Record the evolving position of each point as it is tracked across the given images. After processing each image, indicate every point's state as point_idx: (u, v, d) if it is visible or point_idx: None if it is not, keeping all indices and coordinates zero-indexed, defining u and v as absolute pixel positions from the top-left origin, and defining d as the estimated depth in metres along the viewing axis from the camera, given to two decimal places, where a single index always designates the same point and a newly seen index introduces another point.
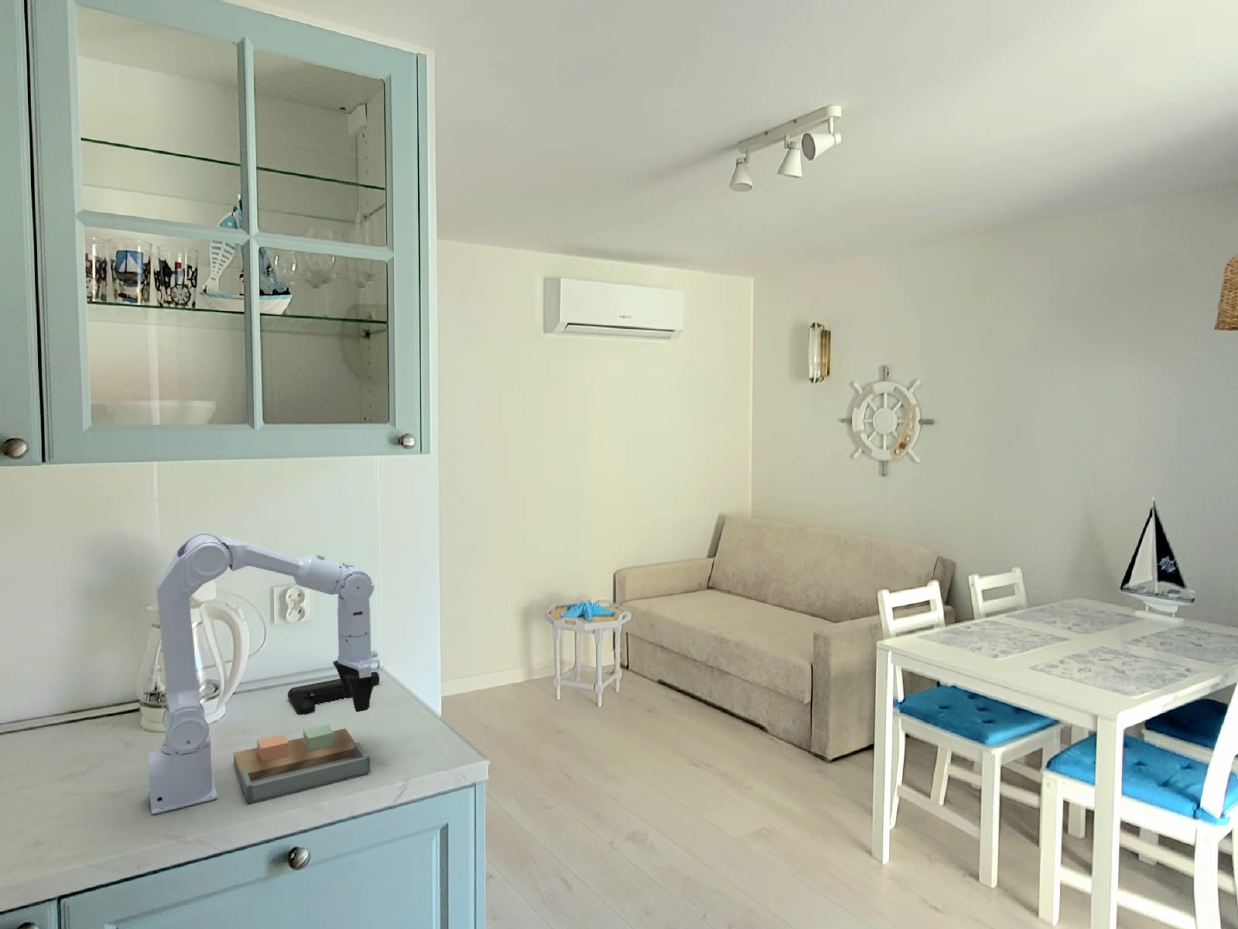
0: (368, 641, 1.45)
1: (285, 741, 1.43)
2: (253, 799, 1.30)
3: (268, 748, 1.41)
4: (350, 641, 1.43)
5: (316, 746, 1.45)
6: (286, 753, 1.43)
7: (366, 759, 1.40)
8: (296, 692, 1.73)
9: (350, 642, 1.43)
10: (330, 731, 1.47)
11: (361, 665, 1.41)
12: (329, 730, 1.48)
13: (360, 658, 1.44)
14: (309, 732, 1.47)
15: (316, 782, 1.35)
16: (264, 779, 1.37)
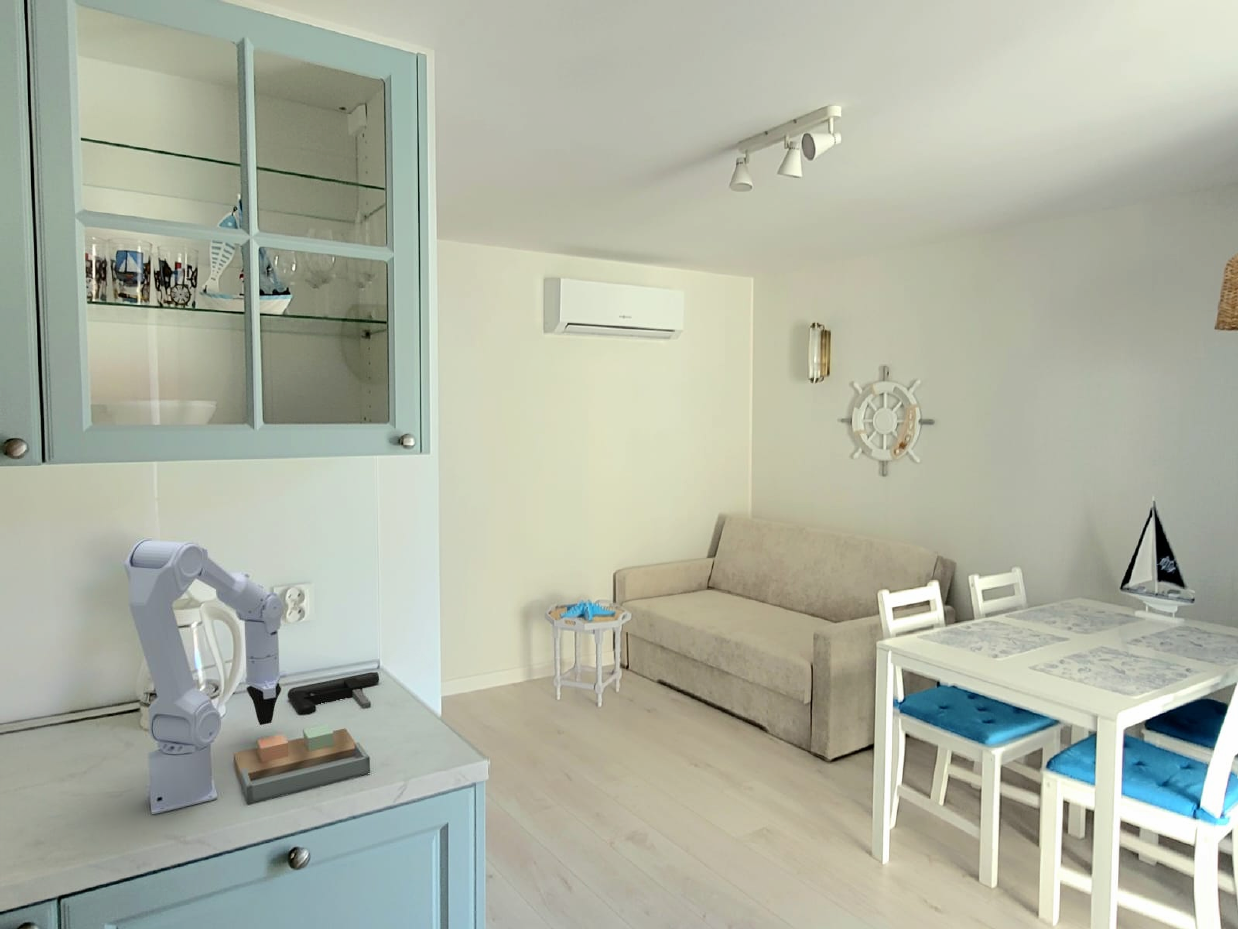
0: (275, 662, 1.49)
1: (285, 741, 1.43)
2: (253, 799, 1.30)
3: (268, 748, 1.41)
4: (256, 663, 1.46)
5: (316, 746, 1.45)
6: (286, 753, 1.43)
7: (366, 759, 1.40)
8: (296, 692, 1.73)
9: (256, 664, 1.46)
10: (330, 731, 1.47)
11: (266, 686, 1.45)
12: (329, 730, 1.48)
13: (267, 679, 1.47)
14: (309, 732, 1.47)
15: (316, 782, 1.35)
16: (264, 779, 1.37)
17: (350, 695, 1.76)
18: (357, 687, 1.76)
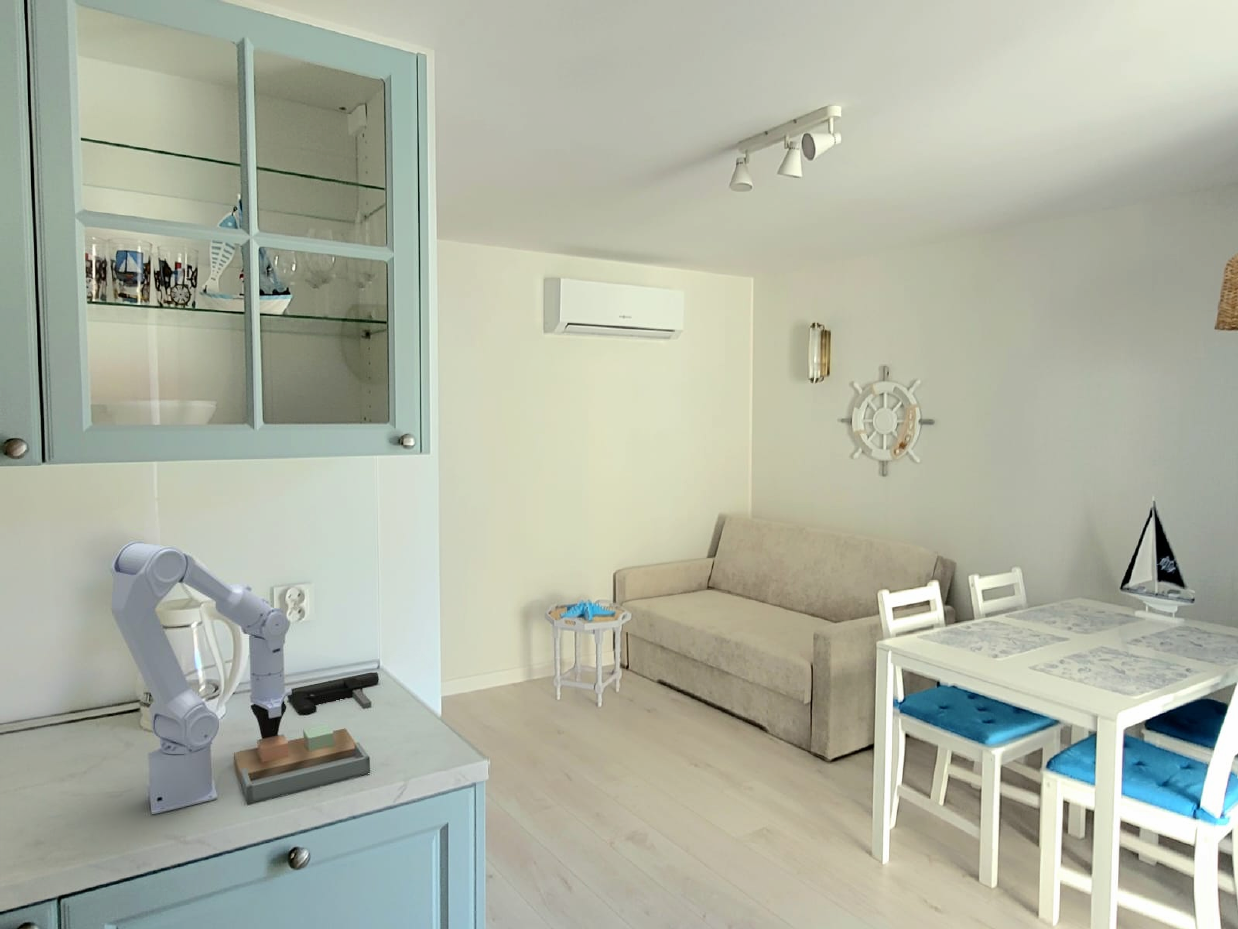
0: (281, 679, 1.44)
1: (285, 741, 1.43)
2: (253, 799, 1.30)
3: (269, 748, 1.41)
4: (261, 680, 1.42)
5: (316, 746, 1.45)
6: (286, 753, 1.42)
7: (366, 759, 1.40)
8: (296, 693, 1.72)
9: (261, 681, 1.42)
10: (330, 731, 1.47)
11: (271, 704, 1.41)
12: (329, 730, 1.48)
13: (272, 697, 1.43)
14: (309, 732, 1.47)
15: (316, 782, 1.35)
16: (264, 779, 1.37)
17: (350, 695, 1.76)
18: (357, 687, 1.76)
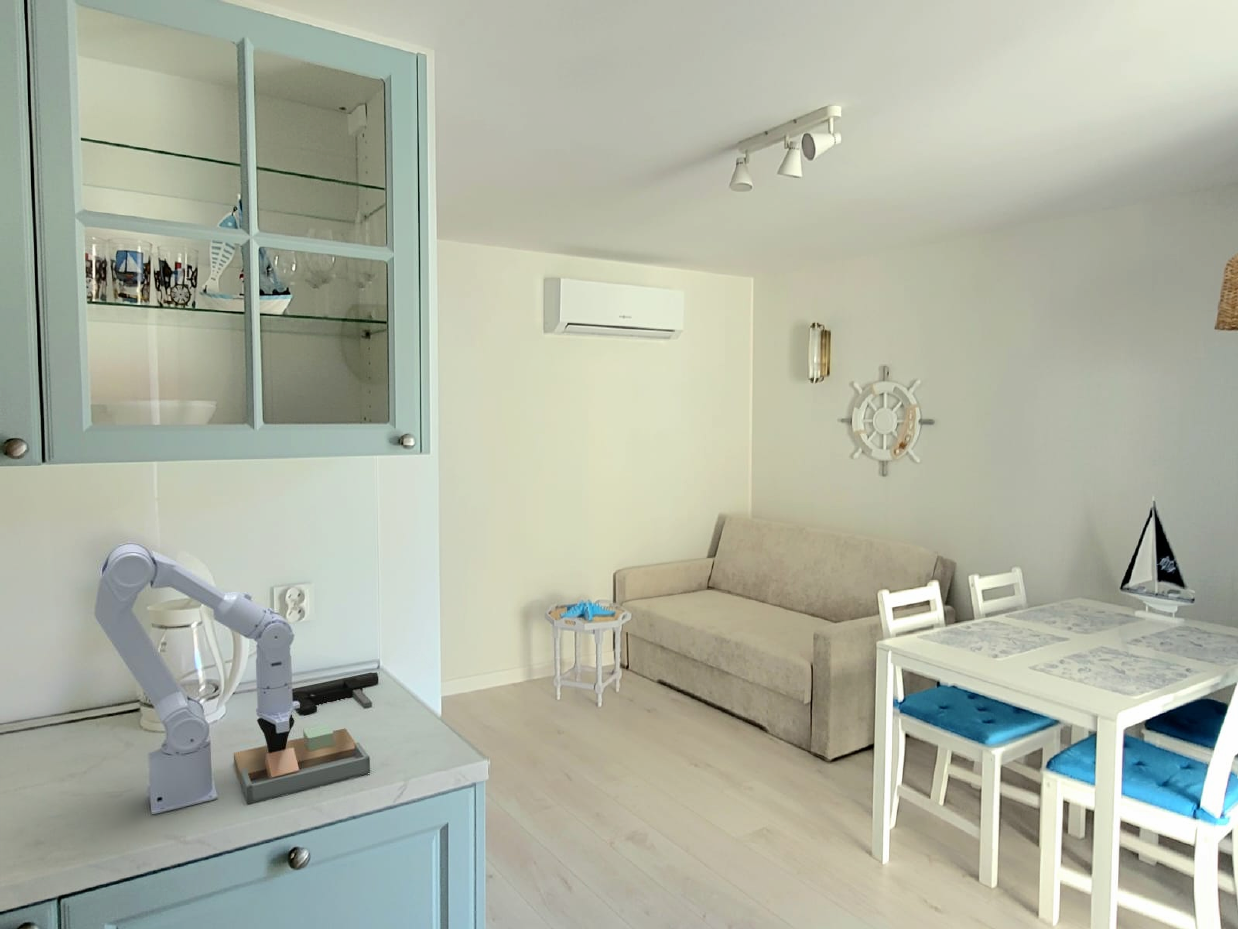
0: (288, 692, 1.38)
1: (296, 766, 1.37)
2: (253, 799, 1.30)
3: (279, 775, 1.35)
4: (268, 693, 1.36)
5: (316, 746, 1.45)
6: None
7: (366, 759, 1.40)
8: (296, 693, 1.72)
9: (268, 694, 1.36)
10: (330, 731, 1.47)
11: (279, 719, 1.34)
12: (329, 730, 1.48)
13: (279, 711, 1.37)
14: (309, 732, 1.47)
15: (316, 782, 1.35)
16: (264, 779, 1.37)
17: (350, 695, 1.76)
18: (357, 687, 1.76)
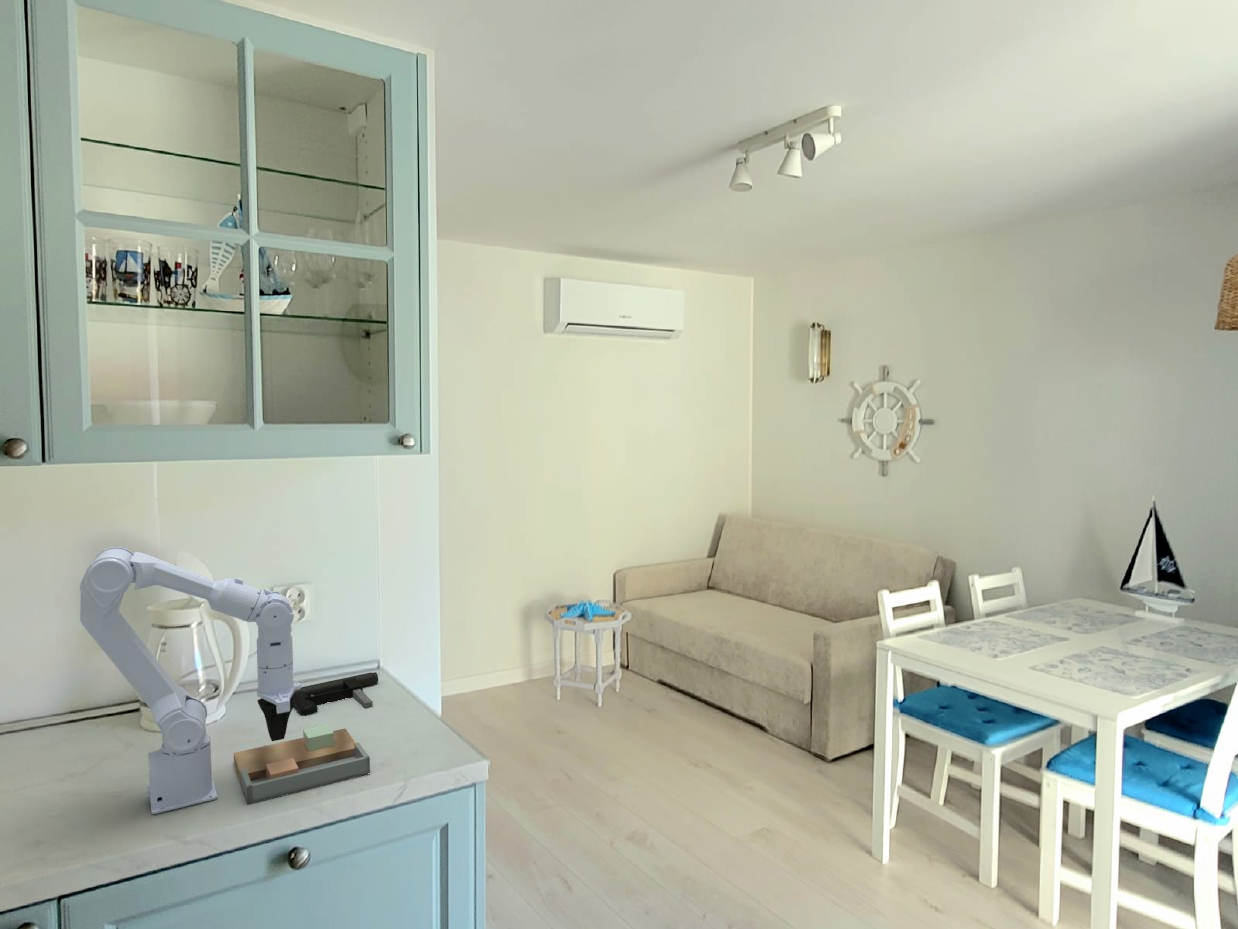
0: (289, 673, 1.36)
1: (295, 766, 1.37)
2: (253, 799, 1.30)
3: (278, 773, 1.34)
4: (269, 673, 1.34)
5: (316, 746, 1.45)
6: None
7: (366, 759, 1.40)
8: (296, 693, 1.72)
9: (269, 674, 1.34)
10: (330, 731, 1.47)
11: (280, 699, 1.33)
12: (329, 730, 1.48)
13: (280, 691, 1.35)
14: (309, 732, 1.47)
15: (316, 782, 1.35)
16: (264, 779, 1.37)
17: (350, 695, 1.76)
18: (357, 687, 1.76)
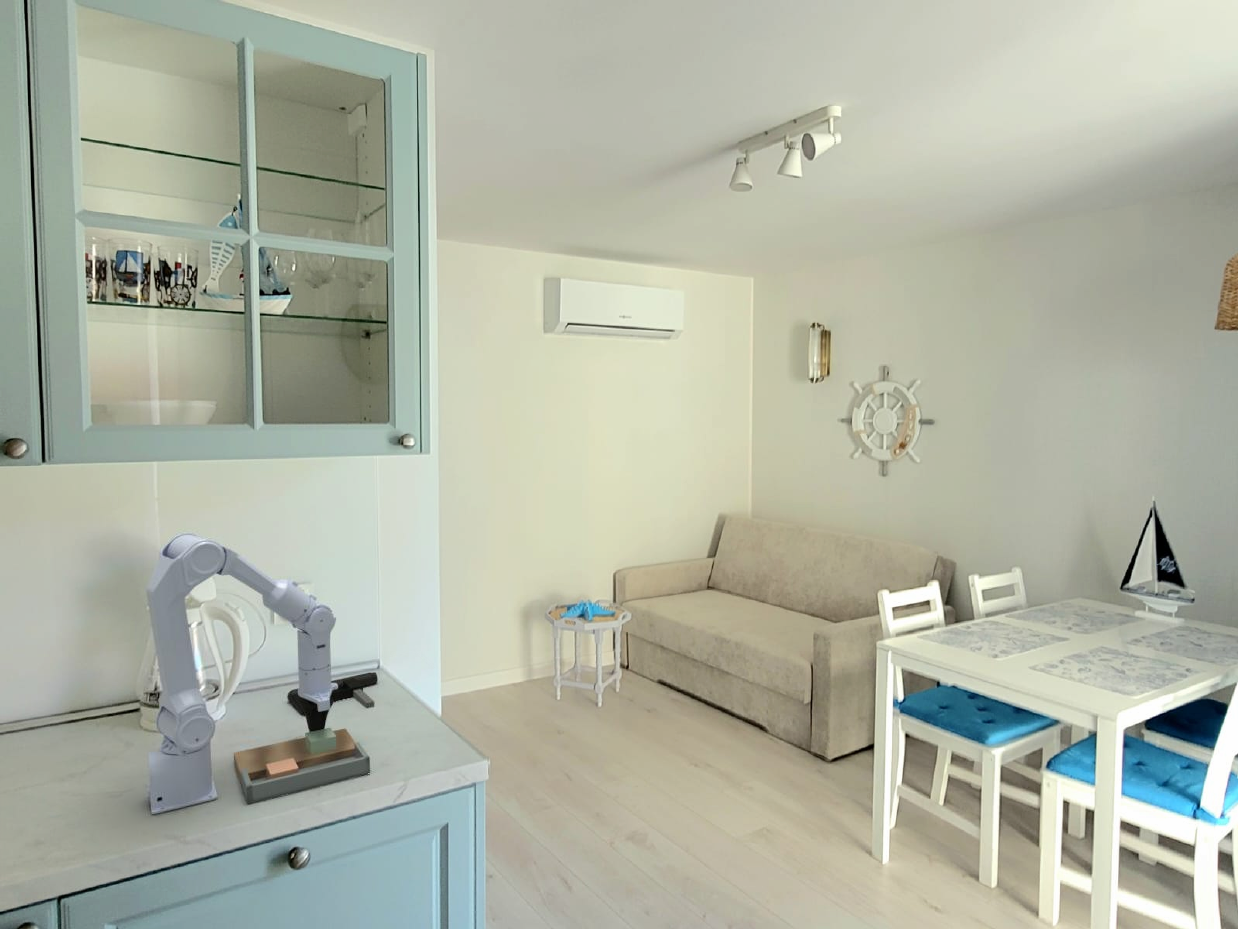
0: (328, 674, 1.47)
1: (295, 766, 1.37)
2: (253, 799, 1.30)
3: (278, 773, 1.34)
4: (310, 674, 1.45)
5: (318, 750, 1.44)
6: None
7: (366, 759, 1.40)
8: (296, 694, 1.72)
9: (310, 675, 1.45)
10: (332, 734, 1.46)
11: (320, 698, 1.44)
12: (331, 733, 1.46)
13: (320, 691, 1.46)
14: (311, 735, 1.46)
15: (316, 782, 1.35)
16: (264, 779, 1.37)
17: (351, 695, 1.76)
18: (358, 687, 1.76)
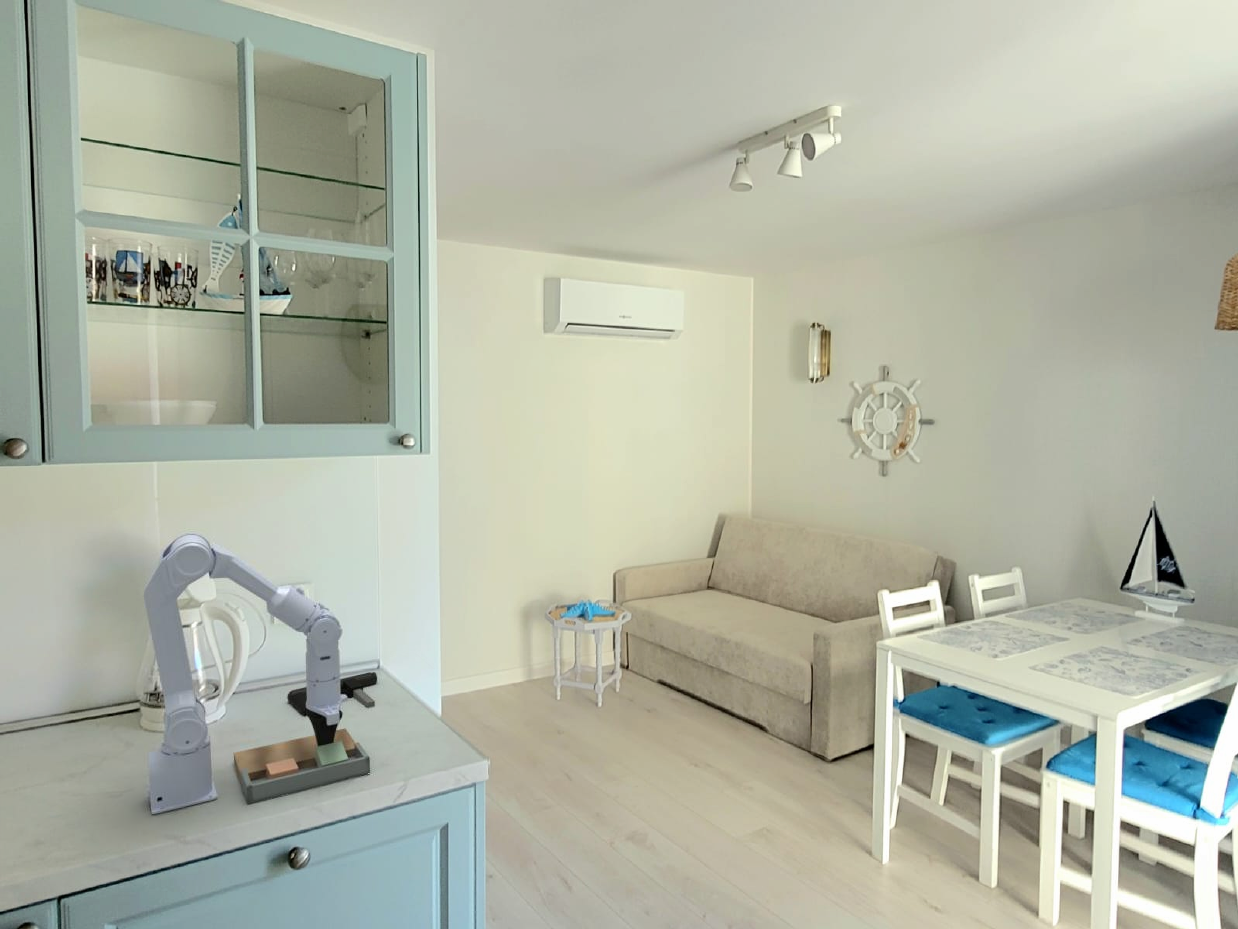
0: (337, 685, 1.41)
1: (295, 766, 1.37)
2: (253, 799, 1.30)
3: (278, 773, 1.34)
4: (318, 686, 1.39)
5: None
6: None
7: (366, 759, 1.40)
8: (296, 695, 1.72)
9: (318, 687, 1.39)
10: (344, 755, 1.40)
11: (329, 711, 1.38)
12: (343, 753, 1.41)
13: (329, 703, 1.40)
14: (322, 754, 1.40)
15: (316, 782, 1.35)
16: (264, 779, 1.37)
17: (351, 695, 1.76)
18: (358, 687, 1.76)
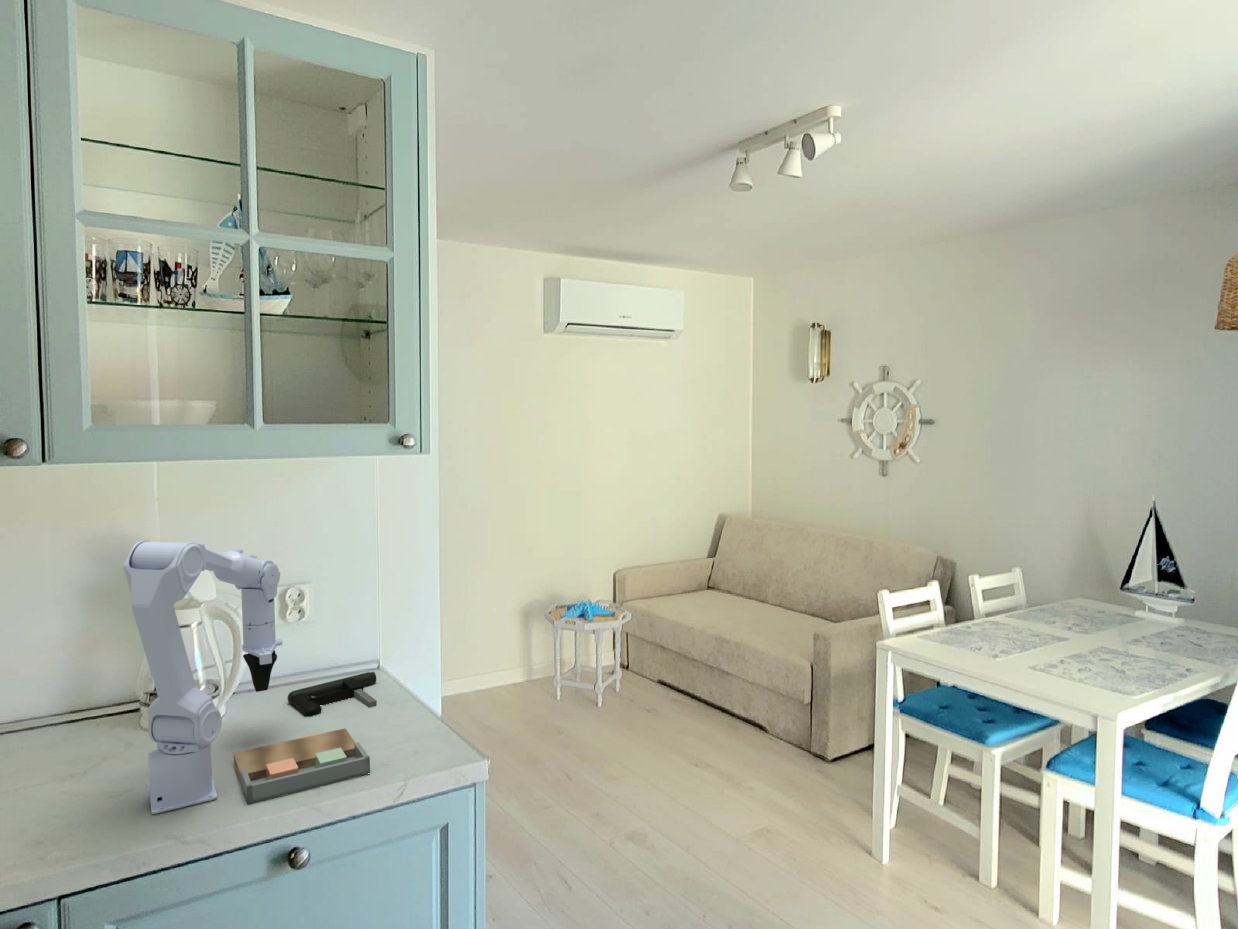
0: (272, 630, 1.51)
1: (295, 766, 1.37)
2: (253, 799, 1.30)
3: (278, 773, 1.34)
4: (253, 629, 1.48)
5: None
6: None
7: (366, 759, 1.40)
8: (297, 695, 1.71)
9: (253, 630, 1.49)
10: (343, 755, 1.41)
11: (262, 652, 1.47)
12: (342, 754, 1.41)
13: (263, 646, 1.49)
14: (321, 756, 1.40)
15: (316, 782, 1.35)
16: (264, 779, 1.37)
17: (351, 695, 1.76)
18: (358, 687, 1.77)
